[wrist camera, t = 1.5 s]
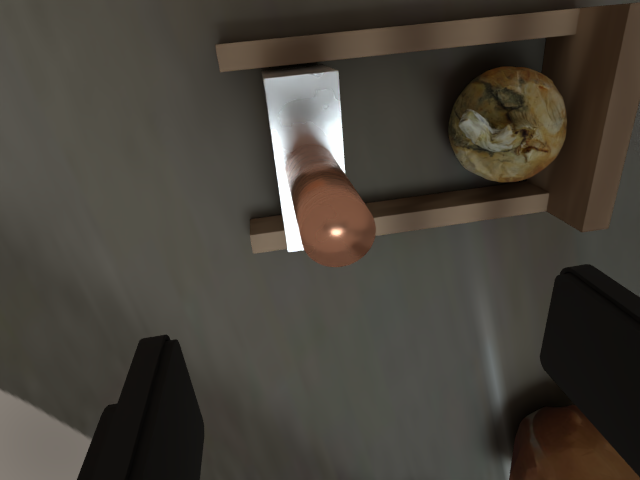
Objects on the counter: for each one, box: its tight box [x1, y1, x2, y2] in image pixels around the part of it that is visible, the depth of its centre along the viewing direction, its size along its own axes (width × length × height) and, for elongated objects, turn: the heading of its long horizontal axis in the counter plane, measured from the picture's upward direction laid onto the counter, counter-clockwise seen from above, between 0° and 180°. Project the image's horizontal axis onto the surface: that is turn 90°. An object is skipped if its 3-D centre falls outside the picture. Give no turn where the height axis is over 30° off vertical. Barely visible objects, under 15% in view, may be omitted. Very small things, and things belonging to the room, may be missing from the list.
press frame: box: [215, 3, 640, 254], centre depth 28 cm, size 25×14×7 cm, turn 95°
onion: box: [448, 67, 567, 182], centre depth 28 cm, size 8×8×8 cm
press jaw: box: [262, 64, 376, 267], centre depth 23 cm, size 4×10×15 cm, turn 5°
